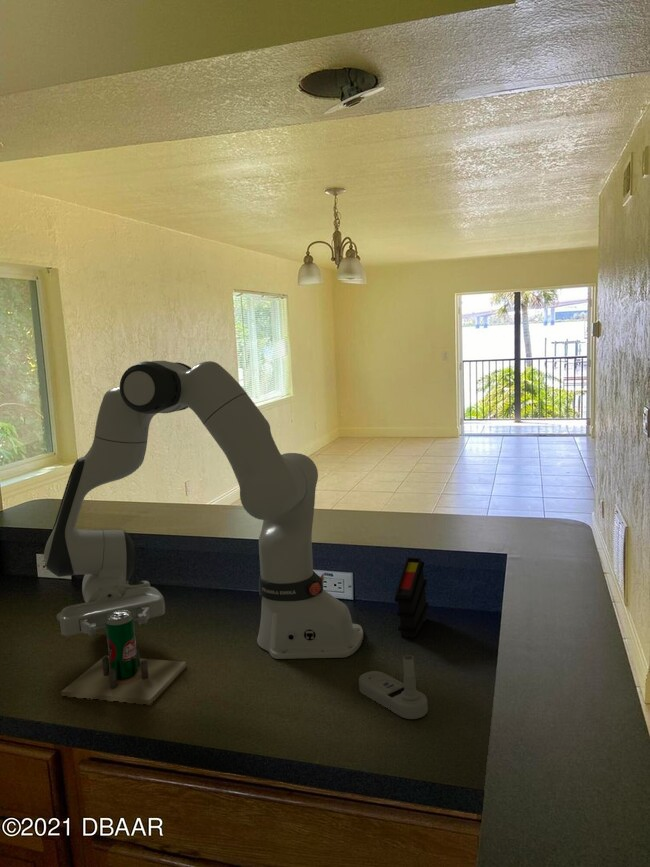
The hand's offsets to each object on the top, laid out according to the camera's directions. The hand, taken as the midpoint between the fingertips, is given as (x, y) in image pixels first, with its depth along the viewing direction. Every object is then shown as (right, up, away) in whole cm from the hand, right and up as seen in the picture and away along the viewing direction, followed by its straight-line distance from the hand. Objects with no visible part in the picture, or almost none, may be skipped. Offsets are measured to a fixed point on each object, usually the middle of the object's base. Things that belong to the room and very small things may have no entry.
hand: (118, 626), depth 125 cm
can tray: (+2, -10, -1) cm, 10 cm away
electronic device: (+52, -9, -13) cm, 54 cm away
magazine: (+59, -5, +15) cm, 61 cm away
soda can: (+2, -9, -1) cm, 9 cm away
